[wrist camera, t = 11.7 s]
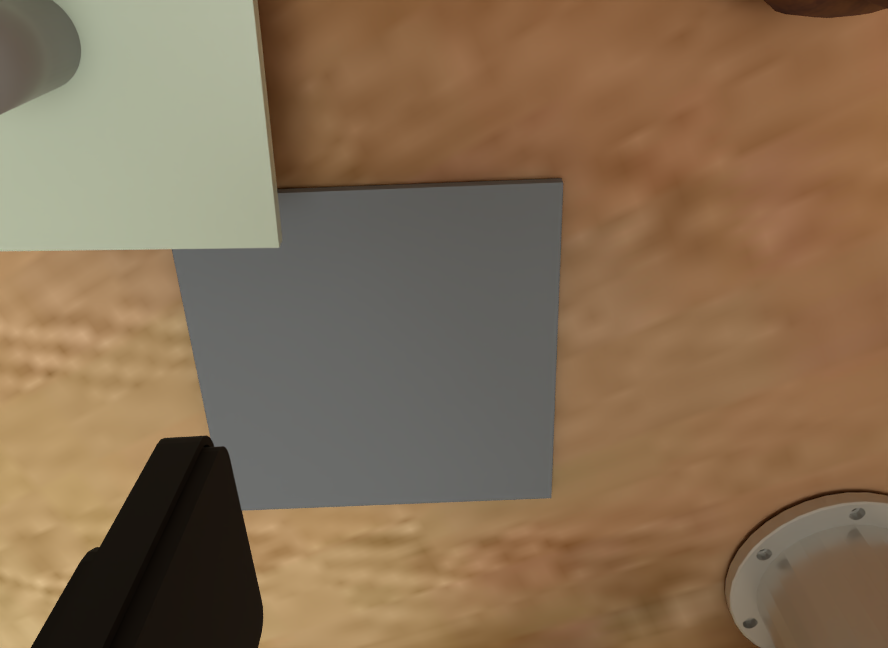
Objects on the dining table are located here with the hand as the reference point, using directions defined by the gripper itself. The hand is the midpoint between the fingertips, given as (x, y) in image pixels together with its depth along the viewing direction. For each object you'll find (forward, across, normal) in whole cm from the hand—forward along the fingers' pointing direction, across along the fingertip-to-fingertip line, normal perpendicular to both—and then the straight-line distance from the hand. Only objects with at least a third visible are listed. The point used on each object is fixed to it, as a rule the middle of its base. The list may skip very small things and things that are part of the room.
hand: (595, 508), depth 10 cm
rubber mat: (+27, +6, +12) cm, 30 cm away
